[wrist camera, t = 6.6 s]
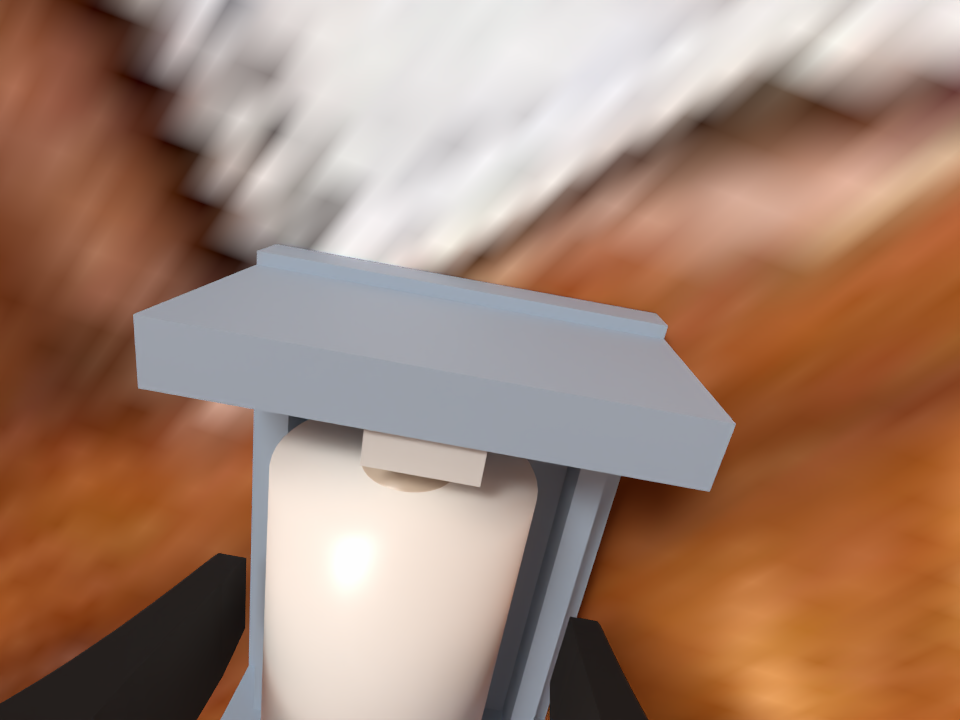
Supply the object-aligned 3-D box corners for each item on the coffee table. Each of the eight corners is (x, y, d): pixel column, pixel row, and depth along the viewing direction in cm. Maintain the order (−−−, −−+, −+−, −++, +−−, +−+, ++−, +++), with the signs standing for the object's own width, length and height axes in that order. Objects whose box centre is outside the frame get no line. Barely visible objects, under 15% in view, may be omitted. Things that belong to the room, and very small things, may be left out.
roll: (469, 661, 16) (469, 879, 11) (296, 643, 15) (220, 861, 10) (525, 419, 13) (556, 574, 8) (313, 388, 12) (217, 532, 8)
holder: (533, 719, 17) (540, 925, 13) (262, 671, 17) (169, 860, 13) (656, 313, 12) (742, 406, 8) (276, 244, 12) (132, 294, 8)
